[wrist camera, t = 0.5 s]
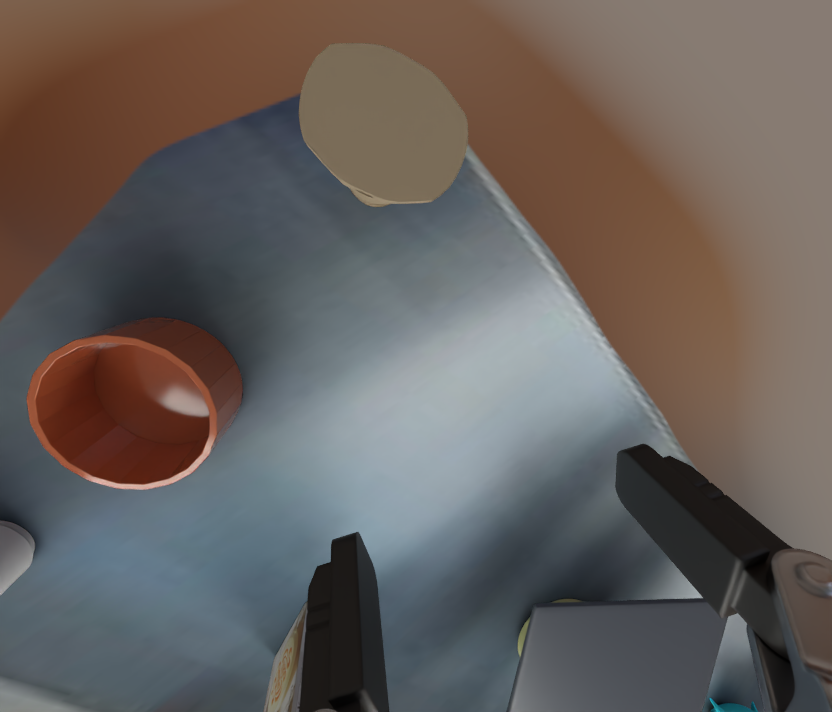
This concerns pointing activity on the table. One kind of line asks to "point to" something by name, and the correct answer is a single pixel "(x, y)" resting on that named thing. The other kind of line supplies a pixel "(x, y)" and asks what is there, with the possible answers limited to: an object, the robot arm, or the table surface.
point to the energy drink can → (14, 553)
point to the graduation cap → (617, 656)
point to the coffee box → (288, 670)
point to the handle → (382, 124)
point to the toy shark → (732, 707)
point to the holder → (135, 402)
